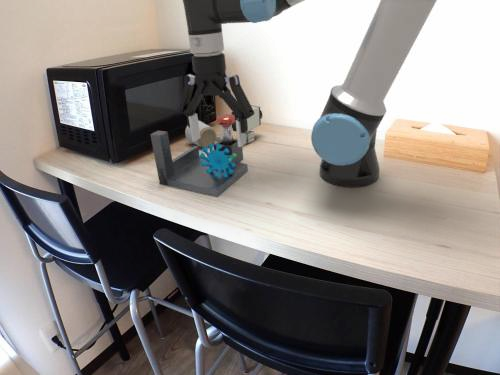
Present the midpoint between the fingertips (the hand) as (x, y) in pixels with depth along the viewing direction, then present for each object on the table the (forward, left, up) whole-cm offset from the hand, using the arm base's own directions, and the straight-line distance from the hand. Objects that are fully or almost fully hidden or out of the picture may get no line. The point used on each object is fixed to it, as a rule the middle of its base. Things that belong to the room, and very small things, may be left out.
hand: (218, 142), depth 93 cm
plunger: (+5, -11, -6) cm, 14 cm away
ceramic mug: (+20, -21, -11) cm, 31 cm away
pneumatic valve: (+8, -28, -11) cm, 31 cm away
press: (+6, -3, -11) cm, 13 cm away
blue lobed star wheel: (0, 0, -9) cm, 9 cm away
